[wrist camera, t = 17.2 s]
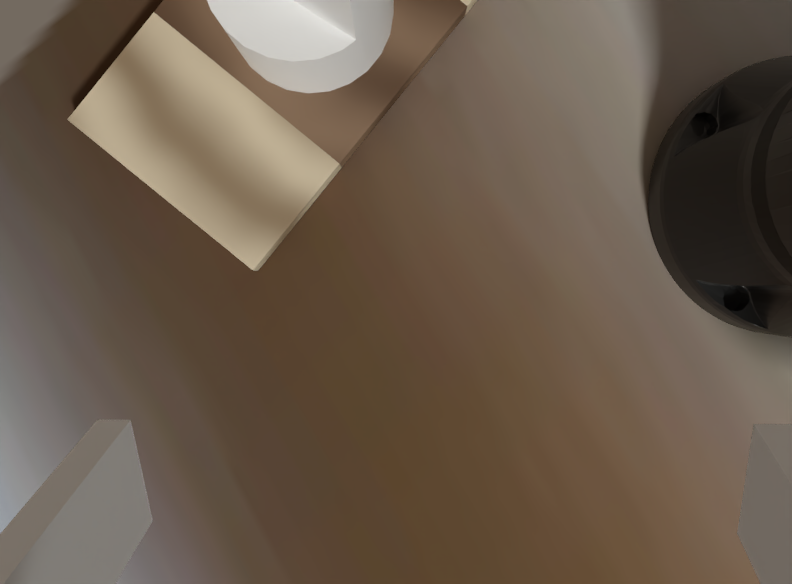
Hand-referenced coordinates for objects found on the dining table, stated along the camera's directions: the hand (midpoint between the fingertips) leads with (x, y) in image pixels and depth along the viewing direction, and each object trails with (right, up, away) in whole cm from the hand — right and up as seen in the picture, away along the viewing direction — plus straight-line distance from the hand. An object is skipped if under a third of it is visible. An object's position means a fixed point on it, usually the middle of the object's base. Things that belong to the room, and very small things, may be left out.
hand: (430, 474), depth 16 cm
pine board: (-5, +19, +26) cm, 33 cm away
